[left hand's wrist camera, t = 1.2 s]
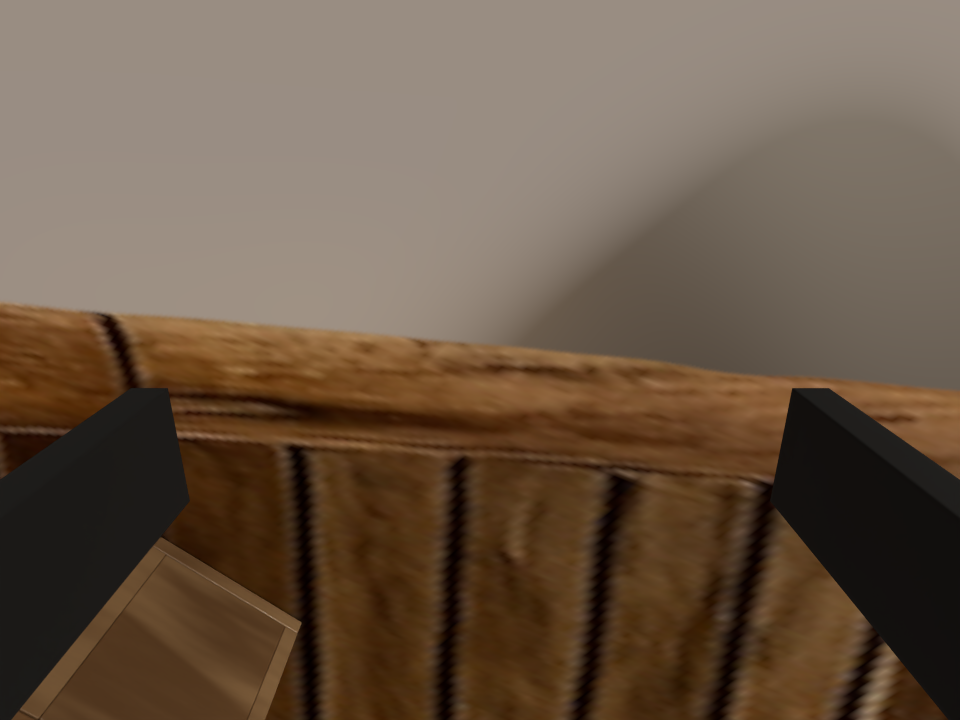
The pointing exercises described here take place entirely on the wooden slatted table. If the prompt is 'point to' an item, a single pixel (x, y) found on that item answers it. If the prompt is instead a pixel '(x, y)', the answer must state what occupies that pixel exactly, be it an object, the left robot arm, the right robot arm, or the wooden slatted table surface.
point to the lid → (21, 717)
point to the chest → (171, 650)
